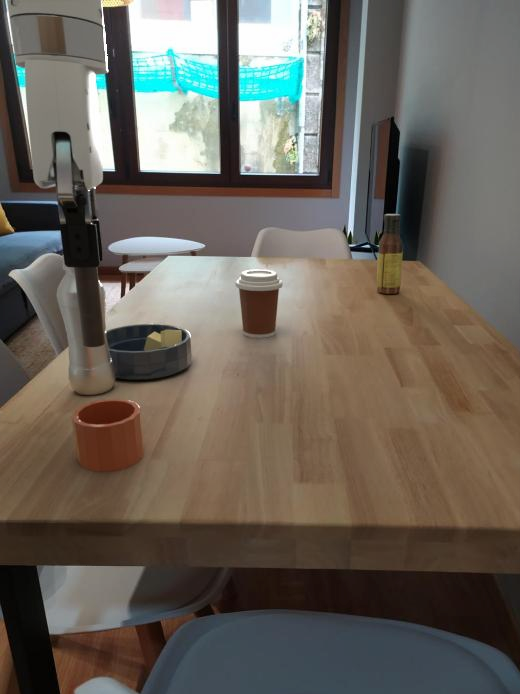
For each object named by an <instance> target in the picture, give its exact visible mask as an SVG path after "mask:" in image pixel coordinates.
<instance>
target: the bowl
mask: <svg viewBox="0 0 520 694" xmlns="http://www.w3.org/2000/svg"><path fill="white" fill-rule="evenodd" d="M164 330H181V332H182V342H181V343H179V344H177V345H174V346H171V347H167V348H163V349H157V350H150V351H145V350H144V347H145V344H146V340H147V337H148V336H149V335H150V334H152V333H153V332H157V333H159V334H161V331H164ZM106 337H107V342H108V347H109V352H110V356H111V359H112V362H113V365H114V369H115V373H116V374H115V379H120V380H125V381H126V380H128V381H148V380H155V379H161V378H166V377H169V376H172V375H175V374H177V373H180V372H182V371H183V370H185V369H187V368H188V367H189V366H190V365H191V364H192V363H193V359H192V341H191V340H192V339H191V333H190V332H189V331H188V330H187V329H186V328H182V327H180V326H176V325H172V324H165V323H164V324H163V323H140V324H138V323H137V324H129V325H123V326H119V327H118V326H117V327H114V328H110V329H108V330H106Z"/></svg>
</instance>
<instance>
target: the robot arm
mask: <svg viewBox="0 0 520 694" xmlns="http://www.w3.org/2000/svg"><path fill="white" fill-rule="evenodd" d="M6 3H7V10H8V17H9V24H10V31H11V32H10V33H11V40H12V46H13V51H14V52H13V53H14V60H15V65H16V66H17V67H18V68H22V69H24V85H25V88H24V89H25V103H26V104H25V105H26V113H27V114H26V116H27V124H28V135H29V145H30V155H31V166H32V167H31V168H32V175H33V181H34V183H35V185H36V186H38V187H39V188H40V189H45V190H46V189H50V188H54V187H55V193H56V199H57V202H56V203H57V208H58V209H57V210H58V217H59V230H60V239H61V246H62V247H61V248H62V255H63V256H64V263H65V265H66V266H67V267H97V268H98V267H99V266H100V264H101V262H102V261H103V260H104V248H103V239H102V230H101V229H102V228H101V221H100V220H99V213H98V212H99V211H98V205H97V204H98V202H97V201H98V200H97V193H96V187H98V186H99V185H100V184H102V183H103V180H104V170H103V148H102V136H101V123H100V113H99V111H100V110H99V102H98V101H99V100H98V92H97V83H96V76H100V75H106V74H108V73H109V69H108V67H109V66H108V56H107V55H108V54H107V44H106V31H105V21H104V10H103V9H104V8H103V0H6ZM92 221H93V224H92Z"/></svg>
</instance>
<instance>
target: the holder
mask: <svg viewBox="0 0 520 694" xmlns="http://www.w3.org/2000/svg"><path fill="white" fill-rule="evenodd" d="M142 422H143V421H142V413H141V406H139V404H138V403H136V402H135V401H131V400H129V399H122V398H107V399H99V400H94V401H90V402H88V403H85V404H83V405H80V406H79V407H77V408H76V409H75V410H74V411H73V413H72V416H71V423H72V430H73V436H74V437H73V438H74V444H75V449H76V456H77V461H78V463H79V465H80V466H81V467H82V468H83V469H85V470H87V471H91V472H96V473H110V472H116V471H121V470H124V469H127V468H130V467H131V466H134V465H135V464H137V463H139V462H140V460H142V458H143V457H144V455H145V443H144V433H143V432H144V431H143V423H142Z"/></svg>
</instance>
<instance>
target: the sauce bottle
mask: <svg viewBox="0 0 520 694" xmlns="http://www.w3.org/2000/svg"><path fill="white" fill-rule="evenodd" d="M400 221H401V214H398V213H386V214H384V215H383V222H384V227H383V228H384V229H383V234H382V237H381V238H380V240H379V242H378V252H377V269H376V270H377V271H376V272H377V273H376V274H377V275H376V287H377V288H376V291H377V293H379V294H382V295H397V294H399V293H400V292H401V291H400V289H401V287H402V285H401V284H402V271H403V270H402V269H403V253H404V247H403V244H402V239H401V235H400Z"/></svg>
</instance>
